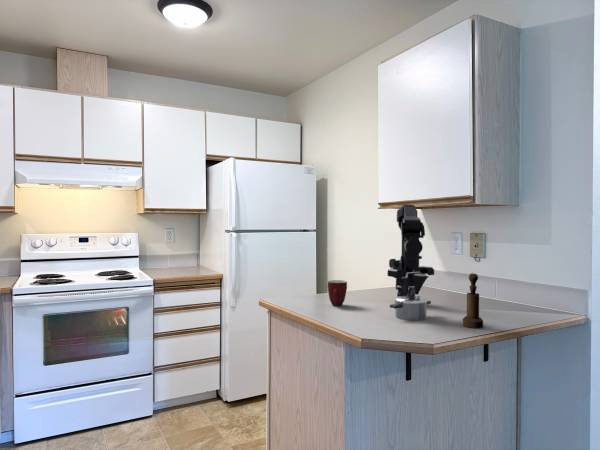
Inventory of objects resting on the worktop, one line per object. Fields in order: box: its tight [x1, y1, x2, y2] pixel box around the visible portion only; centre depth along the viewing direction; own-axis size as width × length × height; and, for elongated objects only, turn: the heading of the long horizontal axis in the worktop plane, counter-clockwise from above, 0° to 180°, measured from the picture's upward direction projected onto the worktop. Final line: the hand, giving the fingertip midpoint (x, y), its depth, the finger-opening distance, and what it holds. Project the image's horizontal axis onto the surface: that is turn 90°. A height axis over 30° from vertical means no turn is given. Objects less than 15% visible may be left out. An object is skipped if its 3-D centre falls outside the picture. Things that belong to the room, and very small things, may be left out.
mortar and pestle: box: [462, 272, 484, 329], centre depth 147 cm, size 7×6×18 cm
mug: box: [327, 279, 348, 307], centre depth 179 cm, size 10×8×10 cm
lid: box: [394, 286, 428, 304], centre depth 159 cm, size 12×12×5 cm
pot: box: [389, 299, 432, 322], centre depth 159 cm, size 18×11×6 cm, turn 121°
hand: (410, 295), depth 159 cm, fingers open, 5 cm apart
